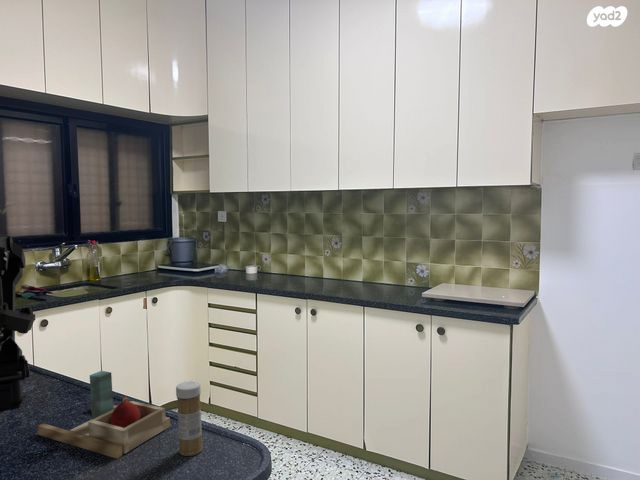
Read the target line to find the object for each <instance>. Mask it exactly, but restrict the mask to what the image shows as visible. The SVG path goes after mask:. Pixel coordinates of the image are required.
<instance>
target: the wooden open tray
mask: <svg viewBox="0 0 640 480" xmlns="http://www.w3.org/2000/svg"><path fill="white" fill-rule="evenodd" d="M89 387H90V389H89V390H90V391H89V392H90V402H91V403H90V410H91V409H92V410H91V419H90V420H88V421H86V422H84V423H81V424H80V425H78V426H76V427H74V428H72V429H69V431H72V432H75V433H79V434H82V435H86V436H89V437H93V438H97V439H100V440H104V441H107V442H111V443H114V444H118V445H121V446H122V454H127V453H128V452H130V451H132V450H133V449H135V448H136V447H139V446H140V445H142V444H143V443H145V442H146V441H148V440H150V439H152V438H154V437H155V436H156V435H158V434H160V433H162V432H163V431H165V430H166V417H167V416H166V408H165V407H160V406H156V405H151V404H147V403H142V402H138V401H133V400H129V402H131V403H133V404H134V405H136V406H137V407H138V408H139V410H140V414H141V416H140V420H138V421H136V422H134V423H133V424H131V425H129V426H127V427H125V428H122V427H118V426H115V425H111V422H110V421H111V416H112V413H113V411H114V409H113V405H114V399H113V397H114V396H113V377H112V372H110V371H105V370H99V371H97V372H95V373H91V374H90V375H89Z"/></svg>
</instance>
